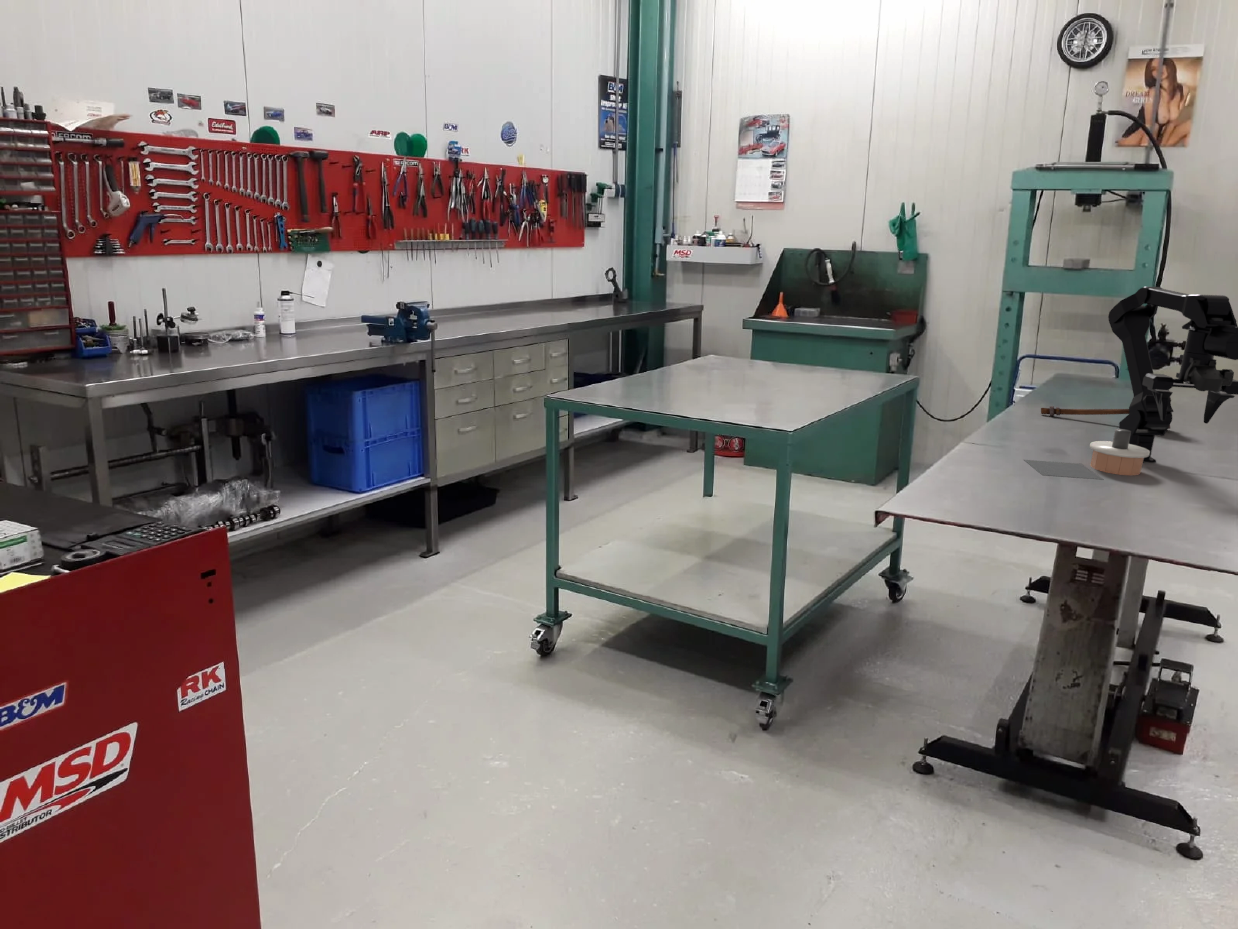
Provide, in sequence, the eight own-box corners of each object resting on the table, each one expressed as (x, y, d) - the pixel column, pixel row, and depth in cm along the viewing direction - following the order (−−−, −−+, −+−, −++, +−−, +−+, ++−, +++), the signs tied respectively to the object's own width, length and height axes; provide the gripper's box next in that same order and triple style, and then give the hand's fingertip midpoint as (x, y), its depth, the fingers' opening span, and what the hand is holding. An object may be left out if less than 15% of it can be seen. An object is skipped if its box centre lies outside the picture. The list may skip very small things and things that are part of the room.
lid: (1081, 442, 212) (1085, 422, 211) (1135, 446, 211) (1139, 426, 210) (1102, 455, 201) (1106, 434, 199) (1158, 459, 199) (1163, 438, 198)
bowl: (1084, 462, 212) (1087, 444, 211) (1128, 465, 211) (1132, 447, 210) (1101, 474, 203) (1104, 454, 201) (1147, 477, 202) (1151, 458, 201)
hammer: (1172, 428, 247) (1171, 392, 245) (1040, 434, 263) (1039, 400, 262) (1171, 424, 253) (1170, 388, 251) (1042, 429, 269) (1041, 396, 267)
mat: (1023, 460, 211) (1023, 459, 211) (1081, 464, 210) (1081, 463, 210) (1041, 476, 199) (1042, 474, 199) (1103, 480, 198) (1104, 479, 198)
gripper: (1171, 355, 192) (1156, 426, 197) (1265, 360, 191) (1247, 433, 195) (1148, 348, 203) (1134, 416, 207) (1236, 353, 201) (1220, 421, 206)
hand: (1184, 421), depth 203 cm, fingers open, 9 cm apart
